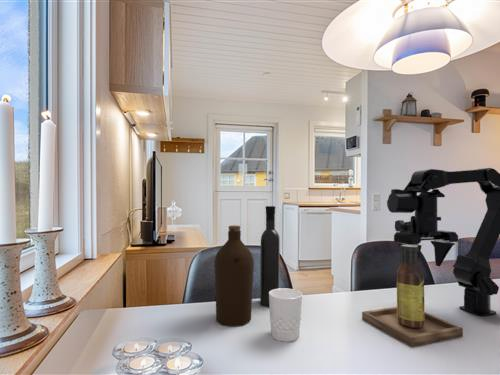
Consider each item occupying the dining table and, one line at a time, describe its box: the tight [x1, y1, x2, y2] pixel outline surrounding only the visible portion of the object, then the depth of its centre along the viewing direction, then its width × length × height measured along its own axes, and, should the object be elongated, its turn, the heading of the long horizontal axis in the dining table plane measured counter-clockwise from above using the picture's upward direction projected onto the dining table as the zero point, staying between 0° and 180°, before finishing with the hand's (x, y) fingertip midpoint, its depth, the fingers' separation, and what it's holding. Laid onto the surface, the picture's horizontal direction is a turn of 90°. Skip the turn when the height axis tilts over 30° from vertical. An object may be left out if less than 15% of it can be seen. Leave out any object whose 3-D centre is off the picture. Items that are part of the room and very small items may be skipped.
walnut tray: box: [361, 306, 464, 348], centre depth 77 cm, size 16×16×2 cm
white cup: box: [268, 287, 303, 343], centre depth 72 cm, size 8×8×10 cm
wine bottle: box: [259, 205, 281, 307], centre depth 94 cm, size 6×6×30 cm
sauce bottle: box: [396, 245, 426, 328], centre depth 77 cm, size 6×6×20 cm
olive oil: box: [213, 225, 255, 327], centre depth 82 cm, size 11×11×25 cm
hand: (426, 267), depth 87 cm, fingers open, 9 cm apart
